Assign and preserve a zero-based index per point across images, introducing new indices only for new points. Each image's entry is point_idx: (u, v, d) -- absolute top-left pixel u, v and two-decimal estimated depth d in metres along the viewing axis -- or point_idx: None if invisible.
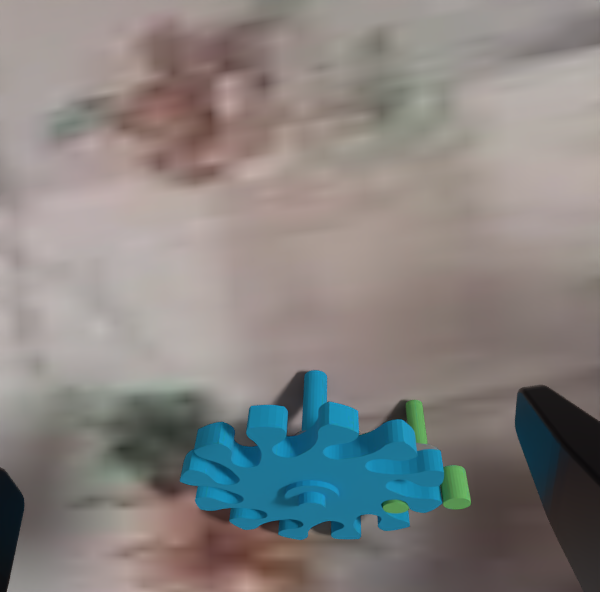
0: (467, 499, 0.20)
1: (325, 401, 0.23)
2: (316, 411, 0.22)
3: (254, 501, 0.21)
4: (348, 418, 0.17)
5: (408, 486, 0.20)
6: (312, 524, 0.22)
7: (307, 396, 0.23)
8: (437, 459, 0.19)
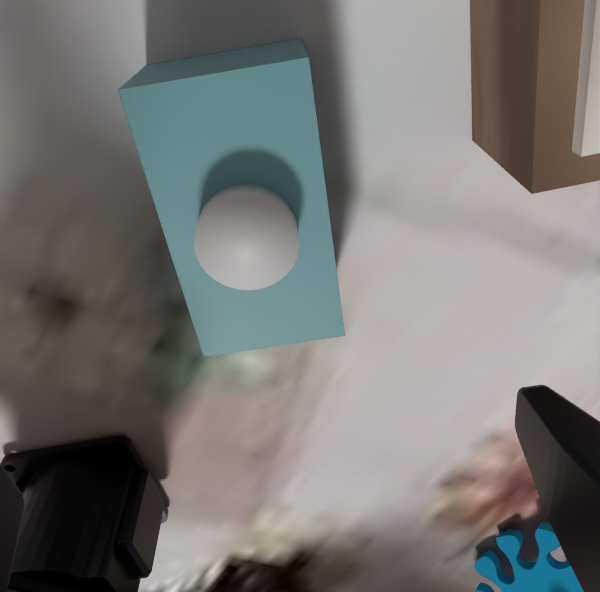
0: None
1: None
2: None
3: (575, 581, 0.29)
4: None
5: None
6: (516, 569, 0.31)
7: None
8: None
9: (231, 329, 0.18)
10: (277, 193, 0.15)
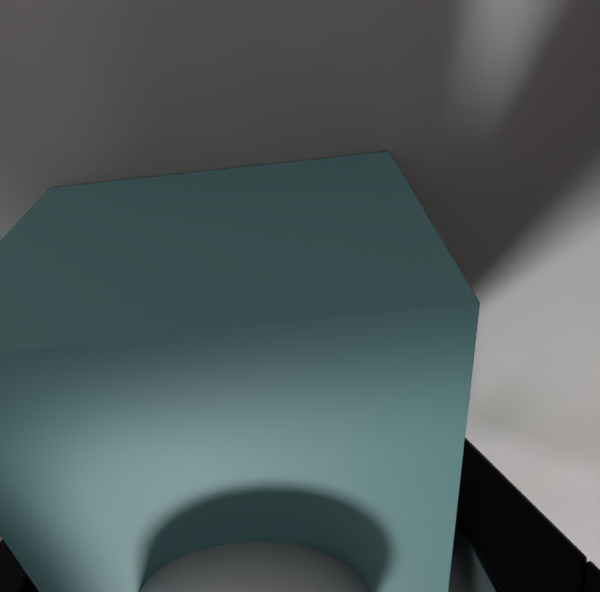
0: None
1: None
2: None
3: None
4: None
5: None
6: None
7: None
8: None
9: None
10: (333, 556, 0.06)
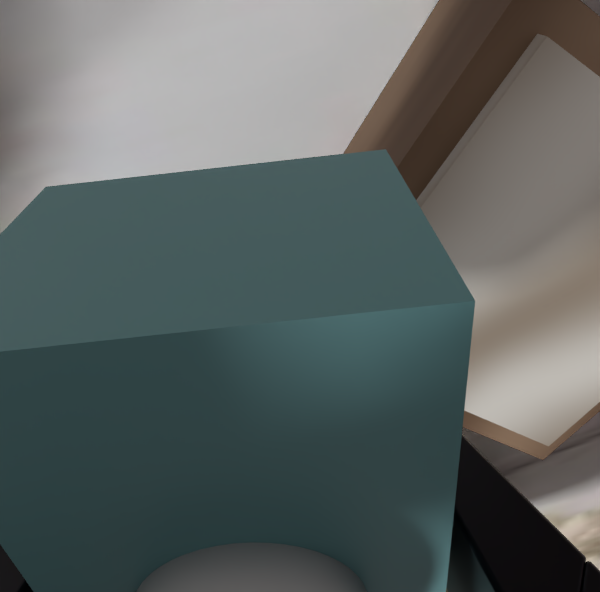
0: None
1: None
2: None
3: None
4: None
5: None
6: None
7: None
8: None
9: None
10: (330, 557, 0.06)
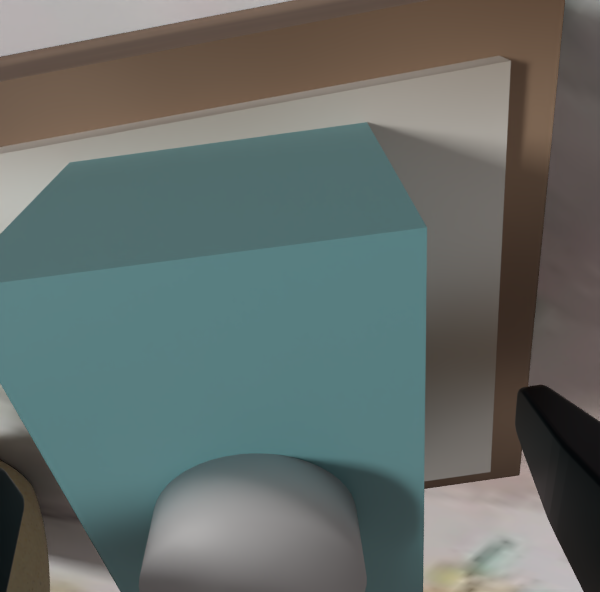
0: None
1: None
2: None
3: None
4: None
5: None
6: None
7: None
8: None
9: None
10: (321, 469, 0.07)
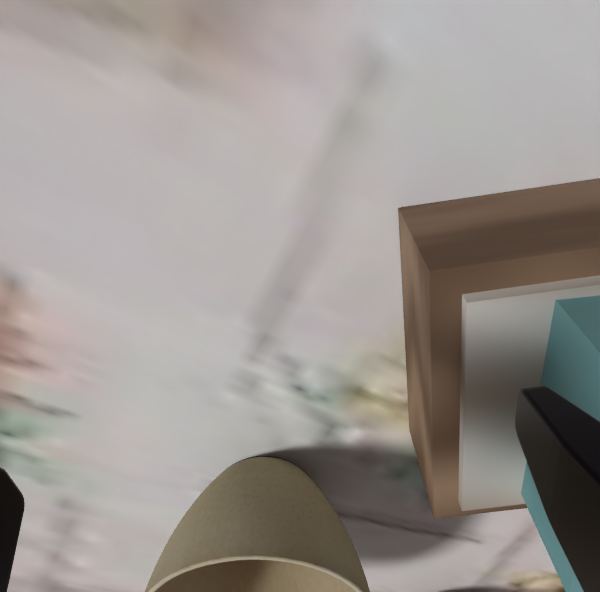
0: None
1: None
2: None
3: None
4: None
5: None
6: None
7: None
8: None
9: None
10: None
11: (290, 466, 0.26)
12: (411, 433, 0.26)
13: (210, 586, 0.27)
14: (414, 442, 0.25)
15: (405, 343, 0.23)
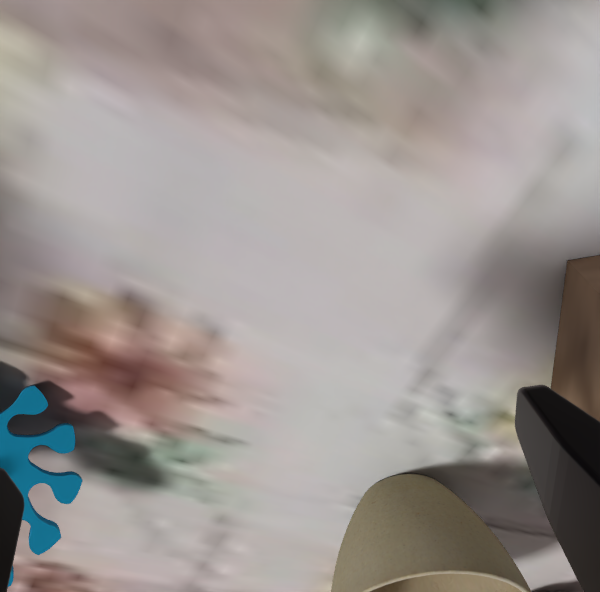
0: None
1: None
2: None
3: (22, 482, 0.24)
4: None
5: None
6: None
7: None
8: None
9: None
10: None
11: (436, 482, 0.29)
12: None
13: None
14: None
15: (553, 373, 0.26)
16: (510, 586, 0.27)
